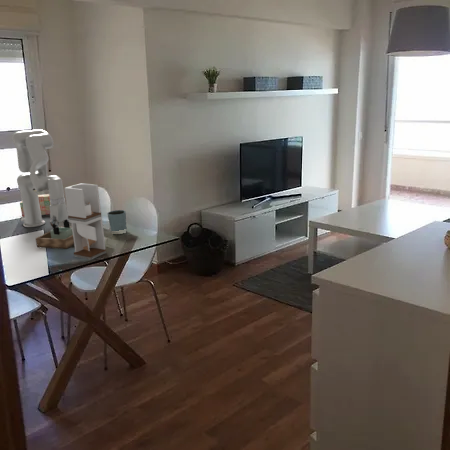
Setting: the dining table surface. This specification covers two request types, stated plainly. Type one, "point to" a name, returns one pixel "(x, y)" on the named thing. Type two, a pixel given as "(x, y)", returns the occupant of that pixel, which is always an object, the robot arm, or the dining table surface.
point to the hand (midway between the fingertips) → (62, 231)
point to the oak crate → (54, 241)
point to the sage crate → (62, 233)
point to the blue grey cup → (117, 220)
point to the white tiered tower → (85, 220)
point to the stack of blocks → (41, 204)
